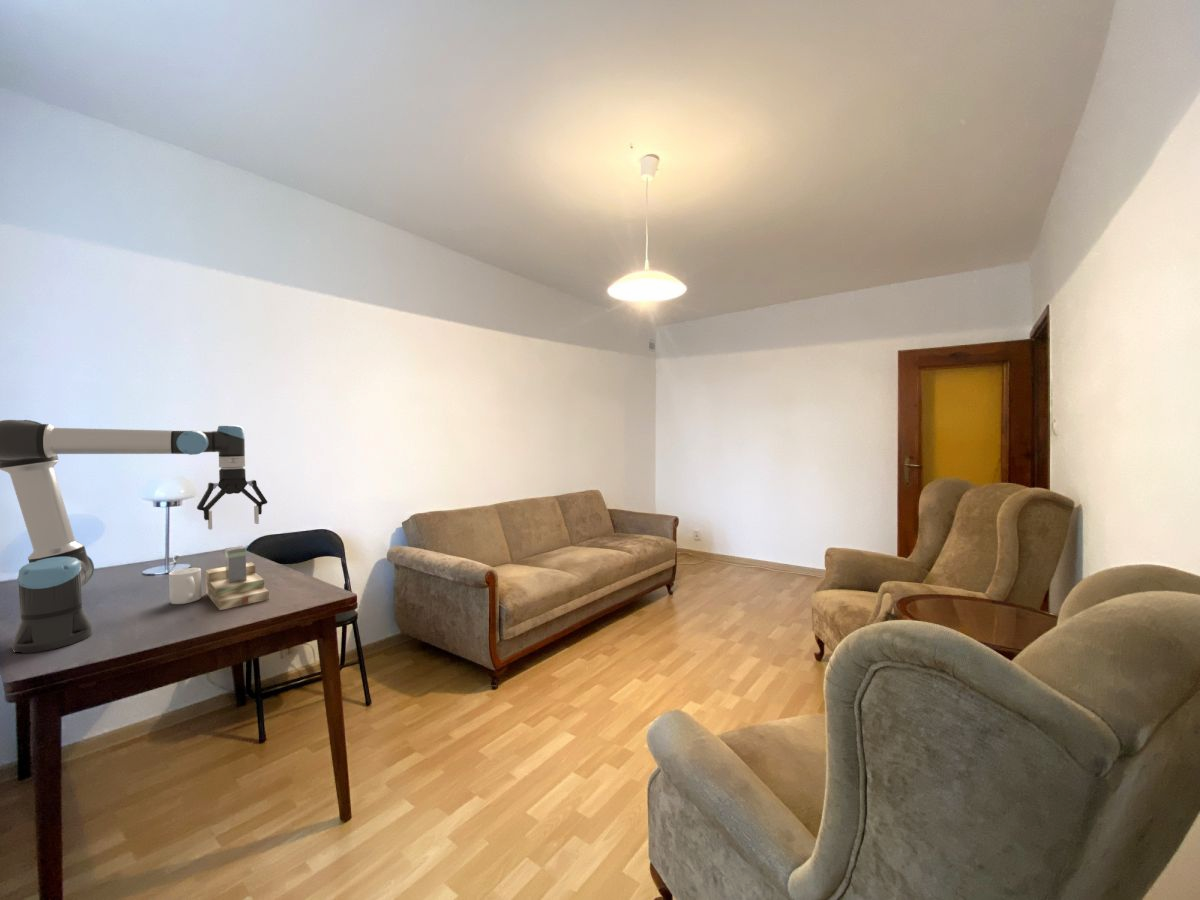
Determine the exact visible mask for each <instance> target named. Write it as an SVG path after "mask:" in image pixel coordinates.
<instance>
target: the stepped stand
mask: <svg viewBox="0 0 1200 900" xmlns="http://www.w3.org/2000/svg"><path fill="white" fill-rule="evenodd" d="M205 586H206V587H205V588H206V595H207V596H208V598H209V599H210V600H211V601H212V602H213V604H214V605H215V606H216V608H217V609H218V610H219V611H222V610H227V609H232V608H235V607H240V606H245V605H249V604H253V603H257V602H262V601H267V600H270V594H269V592H270V591H269V590H268V589H267V588H266V587H265V579H264V578H263V577H262V576H260V575H259V574H257V573H256V564H254V563H253V562H252V561H250V562H246V581H241V582H235V583H230V584H229V583H228V582H227V581H226V566H223V567H216V568H215V567H214V568H209V569H206V570H205Z"/></svg>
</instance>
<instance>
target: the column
mask: <svg viewBox="0 0 1200 900" xmlns="http://www.w3.org/2000/svg"><path fill="white" fill-rule="evenodd" d="M224 556H225V567H226V581H227V582H228V583H229V584H230V583H235V582H241V581H246V563H247V560H246V559H247V558H246V557H247V551H246V546H243V545H239V546H238V545H237V546H231V547H225V548H224Z"/></svg>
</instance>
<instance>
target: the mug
mask: <svg viewBox="0 0 1200 900" xmlns="http://www.w3.org/2000/svg"><path fill="white" fill-rule="evenodd" d="M168 585H169V602H170V604H172V605H184V604H189V603H193V602H197V601H199V600H200V599H201V598H202V596H203V592H202V591H203V589H202V569H201V568H200V567H187V568H181V569H177V570H176V569H175V570H173V571H170V572H169V573H168Z"/></svg>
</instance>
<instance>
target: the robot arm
mask: <svg viewBox="0 0 1200 900" xmlns="http://www.w3.org/2000/svg"><path fill="white" fill-rule="evenodd" d="M245 441H246V440H245V431H244V427H243V426H241V425H219V426H218V427H217V429H216V430H212V431H211V430H210V431H209V430H206V431H205V430H163V429H162V430H161V429H157V430H155V429H121V428H120V429H119V428H117V429H116V428H114V429H112V428H79V427H78V428H73V427H71V428H70V427H68V428H67V427H55V426H54V425H52V424H49V423H41V422H38V421H35V420H28V419H4V420H0V471H3V472H6V473H8V474H9V476H10V479H11V482H12V486H13V488H14V492H15V495H16V499H17V502H18V505H19V507H20V510H21V514H22V517H23V521H24V524H25V527H26V529H27V533H28V536H29V539H30V542H31V543H30V544H31V546H32V549H33V551H32V553H31V554H30V555H29V556H28V557H27V560H28V563H26V564H25V565H23V566H22V567H20V569H19V570H18V576H17V579H16V580H17V583H18V595H19V597H18V599H19V611H20V623H19V626H18V628H17V630H16V633H15V636H14V638H13V640H12V642H11V644H12V645H11V647H12V649H13V650H14V651H15V652H22V653H21V654H31V653H32V654H33V653H37V652H38V653H39V652H44V651H45V652H46V651H49V650H54V649H58V648H62V647H67V646H70V645H73V644H76V643H79V642H82V641H83V640H85V639H87V638H89V637H90V636H91V635H93V626H92V624H91V622H90V621H89V618H88V617H87V615H86V613H85V612H84V610H83V598H82V597H83V595H82V587H84V585H86V584H87V583H89V582H88V581H90V580H91V579H92V576H93V574H94V571H95V564H94V562H93V560H92V558H91V557H90V556H89V555H88V554H87V550H86V548H85V544H83V543H81V542H78V541H76V539H75V535H74V533H73V529H72V525H71V522H70V520H69V519H70V518H69V515H68V513H67V509H66V505H65V503H64V498H63V495H62V493H61V489H60V486H59V483H58V479H57V475H56V472H55V468H54V467H55V465H57V463H58V462H59V461H60V460H59V457H58V455H172V454H173V455H189V456H190V455H194V456H195V455H200V454H202V453H218V468H220V469H219V471H218V472H219V473H218V475H219V477H218V479H219V481H218V482H208V484H207V489H206V491H205V492H204V494H203V496H202V497H201V499H200V501H199V502H198V504H197V506H196V510H199V511H203V520H204V521H207V529H208V530H213V511H212V510H211V509H212V508H213V507H214V506H215V504H216V503H217V502H219V501H220V499H221V498H223V496H225V495H226V494H227V495H233V494H240V493H242V494H243V495H244V496H246V497H247V498H248V499H249V500H250V501H251V502H253V504H255V505H254V506H253V513H254V514H253V516H254V517H253V518H254V524H256V525H258V524H260V518H259V517H260V515H262V513H263V512H262V511H263V509H262V508H263V506H264V505H266V504H268V500H267V499H266V497H265V495H264V494H263V493H262V491H261V489H260V488H259V486H258V483H257V480H255V479H251V480H247V479H246V478H247V477H246V468H244V467H246V457H245V456H246V454H245V453H246V452H245V451H246V450H245V448H246V446H245V444H246V443H245ZM247 485H249V487H252V490H253V492H254V493H255V494H256V496H257V497H258V499H259V500H260V501H259V500H258V499H257V498H256V497H254V495H252V494H251V493H250V492H249V491H248V490H247V489H246V487H247ZM217 487H218V488H219V489H220V490H219V491H218V492H217V494H216V495H214V497H213V498H212V499H211V500H210V501H209V502H208V500H209V498H210V497H211V494H212V492H213V491H214V490H215V489H217ZM207 502H208V503H207ZM206 503H207V504H206ZM12 649H11V650H12ZM15 652H14V653H15Z"/></svg>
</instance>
